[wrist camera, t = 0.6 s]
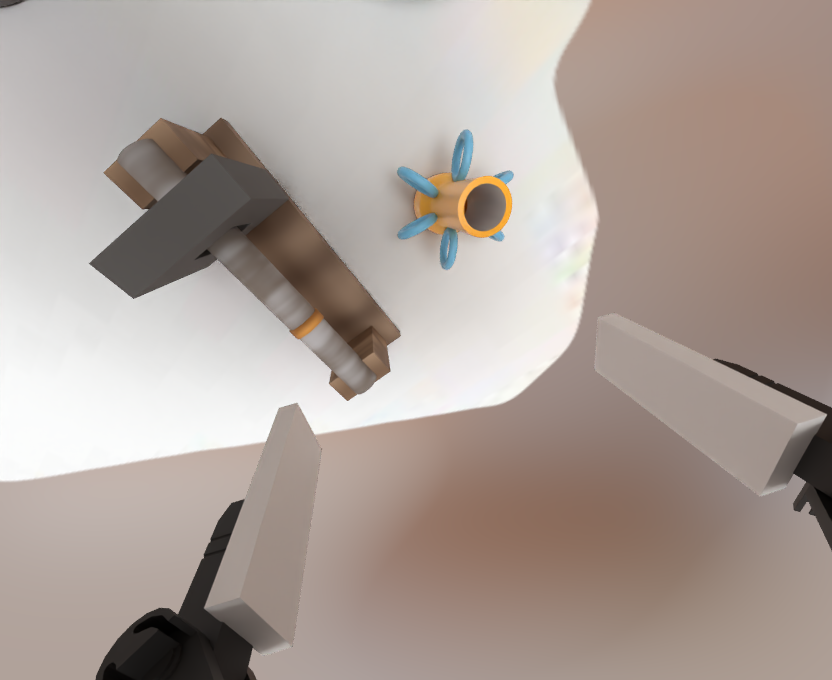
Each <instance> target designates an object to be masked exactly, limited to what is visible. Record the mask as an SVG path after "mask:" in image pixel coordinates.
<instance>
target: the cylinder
mask: <svg viewBox="0 0 832 680" xmlns="http://www.w3.org/2000/svg"><path fill="white" fill-rule="evenodd" d="M463 147H464V152H463V159H462V163H461V167H460V159H461V154H462V150H463ZM472 153H473V136H472V133H471V132H470V131H469V130H463V131H462V132H461V133H460V135H459V137H458V139H457V142H456V145H455V149H454V153H453V159H452V173H441V174H438V175H435V176H432V177H430V178H428V179H425V178H424V177H422V176H421V175H419V174H418V173H416V172H414V171H413V170H411V169H409V168H406V167H399V168H398V170H397V173H398V175H399V177H400V178H401V179H402V180H404V181H405V182H406V183H408V184H409V185H410V186H412V187H413V188H415V189H416V190H417V192H416V194H415V198H414V211H415V215H416V217H417V219H416V220H415V221H413V222H411V223H409V224H408V225H406V226H405V227H403V228H402V229H401V230H400V231H399V232H398V238H399V239H407V238H410V237H412V236H415V235H417V234H419V233H421V232H422V231H424V230H426V229H428V230H430V231H432V232H434V233H436V234H439V235H443V236H442V240H441V246H440V263H441V266H442V268H443V269H445V270H448V269H450V268H451V267H452V265H453V263H454V261H455V258H456V253H457V245H458V238H457V232H459V231H460V232H463V233H466V234H469V235H472V236H475V237H480V238H484V237H489V238H491V239H493V240H496V241H502V240H503V239H504V234H503V233H502V232H501V231H500V230H501V229H502V228H503V227H504V226H505V224H506V223H507V221H508V219H509V217H510V214H511V209H512V197H511V194H510V191H509V189H508V187H507V186H506V184H507V183H508V182H510V181H511V180H512V178H513V172H512V171H505V172H502V173H499V174H497V175H495V176H493V177H492V176H483V177H478V178H473V179H467V180H466V179H465V178H466V176H467V173H468V171H469V167H470V164H471V159H472ZM449 239H450V244H449V253H448V257H447V248H448V242H449Z"/></svg>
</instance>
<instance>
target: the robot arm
mask: <svg viewBox="0 0 832 680" xmlns="http://www.w3.org/2000/svg"><path fill="white" fill-rule="evenodd" d="M19 1H21V0H0V7H2V6H8V5H11V4H14V3H17V2H19ZM594 370H595V371H596V372H598V373H599V374H601V375H602V376H603V377H604V378H606V379H607V380H608V381H610V382H611V383H612V384H614V385H615V386H616V387H618V388H619V389H620V390H621V391H623V392H624V393H625V394H627V395H628V396H629V397H631V398H632V399H633V400H635V401H636V402H637V403H638V404H640V405H641V406H642V407H644V408H645V409H646V410H648V411H649V412H650V413H651V414H653V415H654V416H655V417H657V418H658V419H659V420H661V421H662V422H663V423H665V424H666V425H667V426H668V427H670V428H671V429H672V430H674V431H675V432H676V433H678V434H679V435H680V436H681V437H683V438H684V439H685V440H687V441H688V442H689V443H691V444H692V445H693V446H695V447H696V448H697V449H699V450H700V451H701V452H702V453H704V454H705V455H706V456H708V457H709V458H710V459H712V460H713V461H714V462H715V463H717V464H718V465H719V466H721V467H722V468H723V469H725V470H726V471H727V472H729V473H730V474H731V475H732V476H734V477H735V478H736V479H738V480H739V481H740V482H742V483H743V484H744V485H746V486H747V487H748V488H749V489H751V490H752V491H753V492H755V493H756V494H757V495H759V496H764V495H767V494H770V493H772V492H776V491H779V490H782V489H785V488H786V486H787V484H788V483H789V481H790V479H791V477H792V476H793V474H795V475H797V476H798V477H800V478H802V479H803V480H805V481H806V483H805V485H804V487H803V488H802V490H801V492H800V493H799V495H798V496H797V498H796V500H795V501H794V503H793V506H794V510H795V511H798V512H800V511H801V510H802V508H803V506H804V505H805V504H806V502H809V504H810V506H811V510H810V512H809V514H810V515H814V516H816V518H817V520H818V522H819V525H820V527H821V529H822V531H823V533H824V535H825V537H826V539H827V541H828V544H829V546H830V548H831V550H832V408H831V407H829V406H827V405H825V404H822V403H820V402H818V401H816V400H814V399H811V398H809V397H807V396H805V395H803V394H801V393H799V392H796V391H794V390H792V389H790V388H788V387H785V386H783V385H781V384H779V383H777V384H775V383H774V381H772V380H770V379H768V378H766V377H764V376H758V374H757V373H755V372H753V371H751V370H749V369H746V368H744V367H742V366H740V365H737V364H734V363H729V362H726V361H723V360H718V359H713V360H712V359H710V358H708V357H706V356H704V355H702V354H700V353H698V352H695V351H693V350H691V349H689V348H687V347H685V346H683V345H681V344H679V343H677V342H675V341H673V340H670V339H668V338H666V337H664V336H662V335H660V334H658V333H656V332H653V331H652V330H650V329H647V328H645V327H643V326H641V325H639V324H637V323H635V322H633V321H631V320H629V319H627V318H624V317H622V316H620V315H618V314H616V313H612V314H608V315H605V316H601V317H598V324H597V338H596V351H595V365H594ZM321 452H322V448H321V447H320V445H319V443H318V441H317V439H316V437H315V435H314V433H313V431H312V430H311V428H310V426H309V424H308V422H307V420H306V418H305V416H304V414H303V413H302V411H301V409H300V407H299V405H298V403H295V404H292V405H288V406H285V407H281V408H279V409H278V412H277V415H276V417H275V420H274V423H273V425H272V428H271V431H270V433H269V436H268V439H267V441H266V444H265V447H264V449H263V452H262V455H261V457H260V460H259V463H258V465H257V468H256V471H255V473H254V476H253V479H252V481H251V484H250V487H249V489H248V492H247V495H246V498H245V499H244V500H240V501H237V502H233V503H231V505H230V506H229V507H228V509H227V510H226V511H225V513H224V514H223V515H222V517H221V518H220V519H219V521H218V523H217V525H216V527H215V530H214V532H213V535H212V537H211V542H210V543H209V544H208V546H207V548H206V551H205V553H204V559H202V560H201V562H200V565H199V567H198V569H197V572H196V574H195V577H194V579H193V581H192V583H191V586H190V588H189V590H188V593H187V595H186V597H185V600H184V602H183V604H182V607H181V609H180V611H179V614H176V613H175V612H173V611H172V610H171V609H169V608H158V609H156V610H154V611H151V612H149V613H147V614H145V615H144V616H143V617H141V618H140V619H138V620H137V621H136V622H134V623H133V624H132V625H131V626H130V627H129V628H128V629H127V630H126V631H125V632H124V633H123V634H122V635H121V636H120V637H119V638H118V639H117V641H116V642H115V644H114V645H113V646H112V648H111V649H110V651H109V652H108V654H107V655H106V656H105V658H104V660H103V663H102V664H101V666H100V669H99V671H98V673H97V675H96V680H256V677H255V675H254V673H253V671H252V670H251V669H250V668H249V667H248V665H249V661H250V657H251V652H252V648H254V649H255V650H256V651H258V652H259V653H260V654H261V655H262V656H265V655H268V654H272V653H275V652H278V651H281V650H284V649H287V648H290V647H293V640H294V634H295V628H296V621H297V614H298V608H299V601H300V594H301V587H302V581H303V573H304V567H305V560H306V553H307V546H308V540H309V532H310V527H311V520H312V513H313V506H314V499H315V493H316V486H317V479H318V472H319V465H320V459H321Z"/></svg>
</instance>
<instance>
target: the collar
mask: <svg viewBox="0 0 832 680" xmlns="http://www.w3.org/2000/svg"><path fill="white" fill-rule="evenodd" d="M287 200H289V197H288V196H287V195H286V194H285V193H284V191H283V190H282V189H281V188H280V187H279V185H278V184H277V183H276V182H275V180H274V179H273V178H272V177H271V176H270V174H269V173H268V172H267V171H266V169H262V168H259V167H256V166H252V165H249V164H245V163H242V162H239V161H235V160H232V159H229V158H225V157H222V156H218V155H215V154H212V153H211V154H210V155H209V156H208V157H207V158H206V159H205V160H203V161H202V162H201V163H200V164H199V165H198V166H197V167H196V168H195V169H193V170H192V171H191V172H190V173H189V174H188V175H187V176H186V177H185V178H183V179H182V180H181V181H180V182H179V183H178V184H177V185H176V186H175V187H173V188H172V189H171V190H170V191H169V192H168V193H167V194H166V195H165V196H163V197H162V198H161V199H160V200H159V201H158V202H157V203H156V204H155V205H153V206H152V207H151V208H150V209H149V210H148V211H147V212H146V213H145V214H143V215H142V216H141V217H140V218H139V219H138V220H137V221H136V222H135V223H133V224H132V225H131V226H130V227H129V228H128V229H127V230H126V231H125V232H123V233H122V234H121V235H120V236H119V237H118V238H117V239H116V240H115V241H113V242H112V243H111V244H110V245H109V246H108V247H107V248H106V249H105V250H103V251H102V252H101V253H100V254H99V255H98V256H97V257H96V258H95V259H93V260H92V261H91V262H90V263H89V264H90V265H91V266H93V267H94V268H95V269H96V270H98V271H99V272H100V273H102V274H103V275H104V276H105V277H107V278H108V279H109V280H110V281H112V282H113V283H114V284H115V285H117V286H118V287H119V288H121V289H122V290H123V291H124V292H126V293H127V294H128V295H129V296H131V297H132V298H133V299H134V298H137V297H139V296H141V295H144V294H146V293H148V292H151V291H153V290H155V289H158V288H160V287H162V286H164V285H167V284H169V283H171V282H174V281H176V280H178V279H181V278H183V277H185V276H188V275H190V274H192V273H195V272H197V271H199V270H201V269H204V268H206V267H208V266H209V265H211V264H212V263H213V262H214V261H215V260H217V258H216V257H215V256H214V255H212V254H211V253H210V252H209V251H208V250H207V249H208V248H209V247H210V246H211V245H212V244H213V243H215V242H216V241H217V240H218V239H219V238H221V237H222V236H223V235H224V234H225V233H227V232H228V231H229V230H230V229H231V228H232V227H235V226H237V227H238V228H239V229H240V231H241V232H242V233H243V234H244V235H247V234H248V233H249V232H250V231H251V230H253V229H254V228H255V227H256V226H257V225H259V224H260V223H261V222H262V221H263V220H265V219H266V218H267V217H268V216H269V215H271V214H272V213H273V212H274V211H275V210H277V209H278V208H279V207H280V206H281V205H283V204H284V203H285V202H286V201H287Z"/></svg>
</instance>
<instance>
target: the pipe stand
mask: <svg viewBox="0 0 832 680" xmlns="http://www.w3.org/2000/svg"><path fill="white" fill-rule="evenodd" d="M211 153H212V154H215V155H218V156H222V157H225V158H229V159H232V160H235V161H239V162H242V163H245V164H249V165H252V166H256V167H259V168H262V169H266V168H265V166H264V165H263V164H262V163H261V162H260V160H259V159H258V158H257V157H256V155H255V154H254V153H253V152H252V151H251V149H250V148H249V147H248V146H247V144H246V143H245V142H244V141H243V140H242V138H241V137H240V136H239V135H238V133H237V132H236V131H235V130H234V129H233V127H232V126H231V125H230V124H229V122H228V121H226V120H224V119H222V118H220V119H219V120H218V121H217V122H216V123H215V124H214V125H212V126H211V127H210V128H209V129H208V130H207V131H206V132H205V133H204V134H203V135H202V134H200V133H197V132H195V131H192V130H189V129H187V128H184V127H182V126H179V125H177V124H174V123H172V122H169V121H167V120H164V119H162V118H160V119H159V120H158V121H157V122H156V123H155V124H154V125H153V126H152V127H151V128H150V129H149V130H148V131H147V132H146V133H145V134H144V135H142V136H141V137H140V138H139V139H138V140H137V141H136V142H134V143H132V144H130V145H129V146H127V147H126V148H125V149H123V150H122V152H121V153H120V154H119V156H118V159H117V160H116V161H115V162H114V163H113V164H112V165H111V166H110V167H109V168H108V169H107V170H106V171H105V172H104V174H105V175H106V176H107V177H108V178H109V179H110V180H112V181H113V182H114V183H115V184H116V185H117V186H118V187H119V188H120V189H121V190H122V191H123V192H124V193H125V194H127V195H128V196H129V197H130V198H131V199H132V200H133V201H134V202H135V203H136V204H137V205H138V206H139V207H140V208H141V209H150V208H151V207H152V206H153V205H155V204H156V203H157V202H158V201H159V200H160V199H161V198H162V197H163V196H165V195H166V194H167V193H168V192H169V191H170V190H171V189H172V188H173V187H175V186H176V185H177V184H178V183H179V182H180V181H181V180H182V179H183V178H185V177H186V176H187V175H188V174H189V173H190V172H191V171H192V170H193V169H195V168H196V167H197V166H198V165H199V164H200V163H201V162H202V161H203V160H205V159H206V158H207V157H208V156H209V155H210V154H211ZM266 171H267V172H268V173H269V171H268V170H267V169H266ZM269 174H270V173H269ZM270 176H271V177H272V178H273V179H274V177H273V176H272V175H271V174H270ZM274 180H275V179H274ZM275 182H276V183H277V184H278V182H277V181H276V180H275ZM278 185H279V184H278ZM279 187H280V188H281V189H282V190H283V188H282V187H281V186H280V185H279ZM283 191H284V190H283ZM284 193H285V194H286V195H287V193H286V192H285V191H284ZM287 196H288V195H287ZM288 197H289V196H288ZM207 250H208V251H209V252H210V253H211V254H212V255H214V256H215V257H216V258H217V259H218V260H219V261H220V262H221V263H222V264H223V265H224V266H225V267H226V268H227V269H228V270H229V271H230V272H231V273H232V274H233V275H234V276H235V277H236V278H237V279H238V280H239V281H240V282H241V283H242V284H243V285H244V286H246V287H247V288H248V289H249V290H250V291H251V292H252V293H253V294H254V295H255V296H256V297H257V298H258V299H259V300H260V301H261V302H262V303H263V304H264V305H265V306H266V307H267V308H268V309H269V310H270V311H271V312H272V313H273V314H274V315H275V316H276V317H278V318H279V319H280V320H281V321H282V322H283V323H284V324H285V325H286V326H287V327H288V328H289V329H290V332H291V333H292V334H293V335H294V336H295V337H296V338H297V339H300V340H301V341H302V342H303V343H304V344H305V345H306V346H307V347H308V348H310V349H311V350H312V351H313V352H314V353H315V354H316V355H317V356H318V357H319V358H320V359H321V360H322V361H323V362H324V363H325V364H326V365H327V366H328V367H329V368H330V369H331V370H332V371H331V376H330V382H329V384H330V385H331V386H332V387H333V388H334V389H335V390H336V391H337V392H338V393H339V394H340V395H342V396H343V397H344V398H345V399H346V400H347V401H348V400H350V399H351V398H353V397H354V396H356V395H357V394H362V393H364V392H366V391H367V390H368V389H369V388H370V387H371V386H372V385H373V384H374V382H376V381H377V380H379V379H380V378H382V377H383V376H384V375H386V374H387V373H389V372H390V364H389V357H388V351H387V345H389V344H390V343H391V342H393V341H394V340H396V339H397V338H398V337H400V336H401V335H400V331H399V330H398V329H397V328H396V326H395V325H394V324H393V323H392V322H391V320H390V319H389V318H388V317H387V315H386V314H385V313H384V312H383V311H382V309H381V308H380V307H379V306H378V304H377V303H376V302H375V301H374V300H373V298H372V297H371V296H370V295H369V294H368V292H367V291H366V290H365V289H364V287H363V286H362V285H361V284H360V283H359V281H358V280H357V279H356V278H355V276H354V275H353V274H352V273H351V272H350V270H349V269H348V268H347V267H346V265H345V264H344V263H343V262H342V261H341V259H340V258H339V257H338V256H337V254H336V253H335V252H334V251H333V250H332V248H331V247H330V246H329V245H328V243H327V242H326V241H325V240H324V239H323V237H322V236H321V235H320V234H319V232H318V231H317V230H316V229H315V228H314V226H313V225H312V224H311V223H310V221H309V220H308V219H307V218H306V217H305V215H304V214H303V213H302V212H301V210H300V209H299V208H298V207H297V206H296V204H295V203H294V202H293V201H292V199H291V198H290V197H289V200H287V201H286V202H285V203H284V204H283V205H281V206H280V207H279V208H278V209H277V210H275V211H274V212H273V213H272V214H271V215H269V216H268V217H267V218H266V219H265V220H263V221H262V222H261V223H260V224H259V225H257V226H256V227H255V228H254V229H253V230H251V231H250V232H249V233H248V234H247V235H244V234H243V233H242V232H241V231H240V229H239V228H238V227H237V226H235V227H232V228H231V229H230V230H229V231H228V232H227V233H225V234H224V235H223V236H222V237H221V238H219V239H218V240H217V241H216V242H215V243H213V244H212V245H211V246H210V247H209V248H208V249H207Z"/></svg>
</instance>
